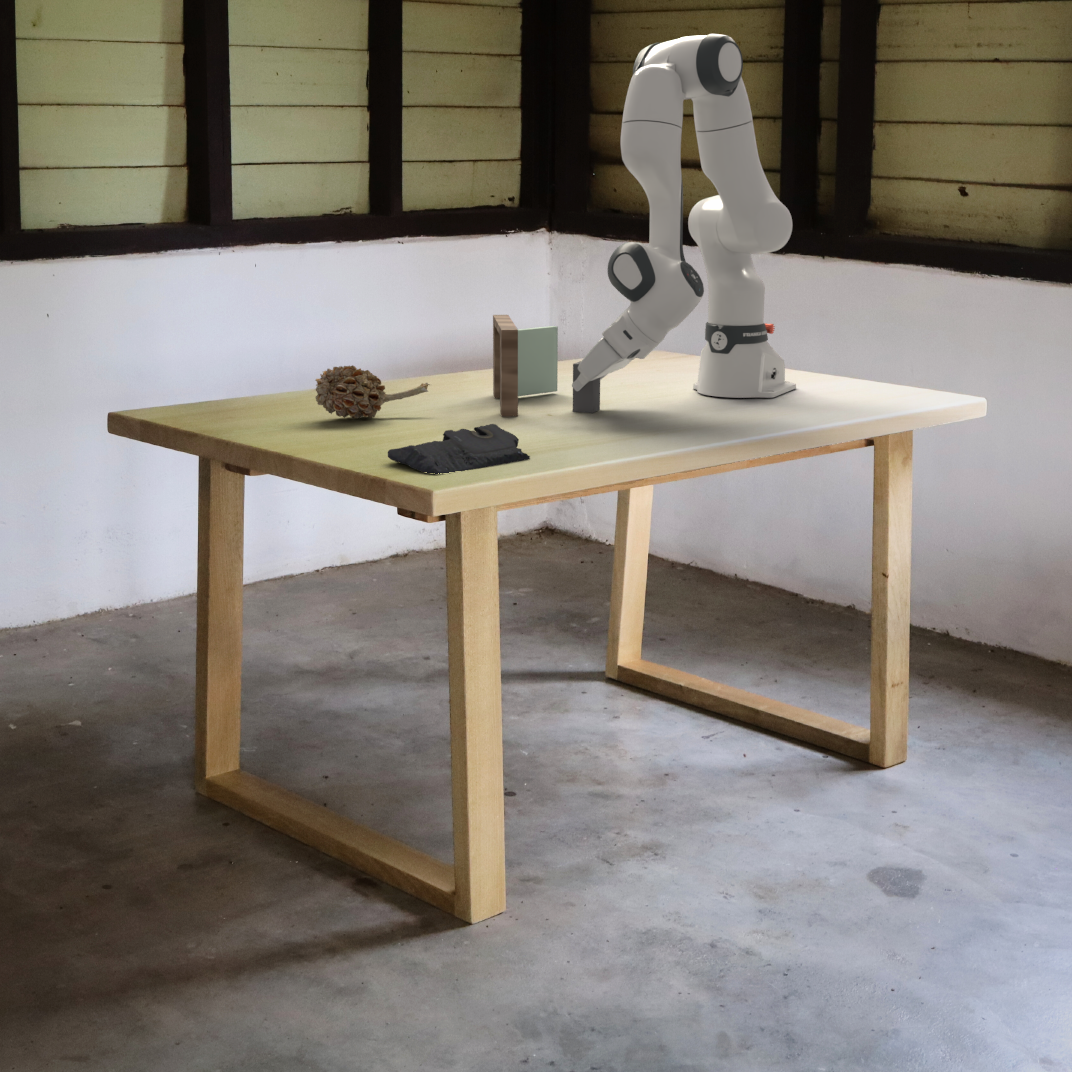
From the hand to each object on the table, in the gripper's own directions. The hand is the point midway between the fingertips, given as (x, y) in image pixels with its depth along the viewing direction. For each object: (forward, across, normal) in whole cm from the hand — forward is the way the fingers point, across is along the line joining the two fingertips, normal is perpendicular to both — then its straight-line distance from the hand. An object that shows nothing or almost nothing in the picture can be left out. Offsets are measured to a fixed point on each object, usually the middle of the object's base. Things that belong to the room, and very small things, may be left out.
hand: (583, 384), depth 285 cm
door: (+14, -11, -8) cm, 20 cm away
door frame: (+15, +1, -8) cm, 16 cm away
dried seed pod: (+27, +23, -20) cm, 40 cm away
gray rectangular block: (+3, 0, +4) cm, 5 cm away
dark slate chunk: (+6, +51, +2) cm, 51 cm away
